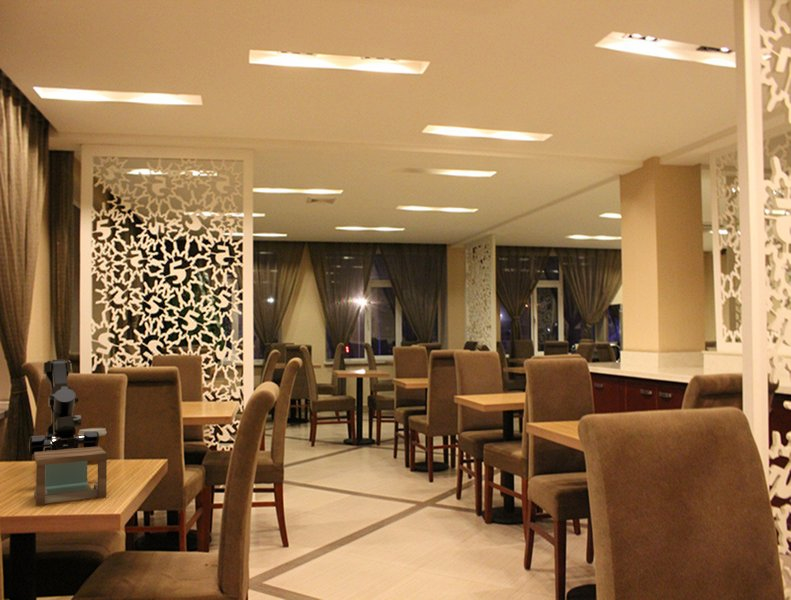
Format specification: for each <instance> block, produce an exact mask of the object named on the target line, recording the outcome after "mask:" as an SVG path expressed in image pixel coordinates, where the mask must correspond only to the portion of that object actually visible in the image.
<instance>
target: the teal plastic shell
mask: <svg viewBox="0 0 791 600" xmlns="http://www.w3.org/2000/svg"><path fill="white" fill-rule="evenodd" d="M91 489H93V488H92V487H91V485H90V484H89V482H88V465H87V461H80V462H70V463H59V464H49V465H45V495H49V494H57V493H66V492H74V491H83V490H91Z"/></svg>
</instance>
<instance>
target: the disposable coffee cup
mask: <svg viewBox="0 0 791 600" xmlns="http://www.w3.org/2000/svg"><path fill="white" fill-rule="evenodd" d="M106 429H107V428H106V427H105V428H104V427H90V428H83V429H79V431H78V433H77V435H78V437H81V436H84V432H91V431H97V432H98V433H99V441H98V446H100V447H101V448H102V449H103V450H104V449H105V447H104V446H105V443H106V435H107V433H108V432H107V430H106ZM79 445H80V448H83V443H82V444H79ZM104 451H105V450H104ZM89 464H92V465H98V460H90V461H87V466H90V465H89Z"/></svg>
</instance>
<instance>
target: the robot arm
mask: <svg viewBox="0 0 791 600" xmlns="http://www.w3.org/2000/svg"><path fill="white" fill-rule="evenodd" d="M42 365H43V367H42V368H43V369H42V372H43V375H45V381H46V383H47V384H48V385H49V386H50V395H48V397H47V398H48V399H47V404H48V405H47V406H48V407H49V408H50V412H51V413H50V414H51V415H50V416H51V418H50V421H51V424H50V425H48V428H47V430H46V435H45V434H41V435H32V436H30V437H29V441H28V442H29V443H28V453H29V455H33V456H34V452H41V451H52V450H63V449H74V448H79V445H80V444H82V443H83V448H86V447H97V446H98V441H99V433H98V432H97V431H91V432H84V436H81V437H79V436H76V431H77V430H76V428H81V427H82V415H81V414H77V415H76V414H75V415H74V413H73V411H74V410H75V406H76V404H77V403H78V402H79V397H77V395H76V392H75V391H74V390H73V388H72V387H71V386H69V383H68V378H69V374H71V372H72V362H71V361H69V360H67V359H65V358H64V359H63V358H61V359H52V360H47V361H46V362H45V361H44V362H43V364H42Z"/></svg>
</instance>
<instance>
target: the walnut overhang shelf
mask: <svg viewBox="0 0 791 600" xmlns="http://www.w3.org/2000/svg"><path fill="white" fill-rule="evenodd" d="M33 458H34V460H35V465H36V469H35V470H36V472H35V473H36V477H35V479H36V480H35V483H36V484H35V488H34V489H33V497H35V506H36V507H40V506H45V505H46V504H52V503H54V502H55V503H62V502H69V501H77V500H86V498H87V499H95V498H98V499H102V498H107V468H108V467H107V465H108V462H107V461H108V460H107V459H108V453H107V452H106V451H105V450H103V449H102V448H101V447H100V446H97V447H86V448H81V447H78V448H74V449H63V450H52V451H51V450H46V451H41V452H34V454H33ZM90 460H98V464H97V481H96V482H94V483H93V488H92V489H91V490H83V491H74V492H66V493H57V494H49V495H46V493H45V465H49V464H59V463H70V462H80V461H90ZM94 497H95V498H94Z"/></svg>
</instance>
